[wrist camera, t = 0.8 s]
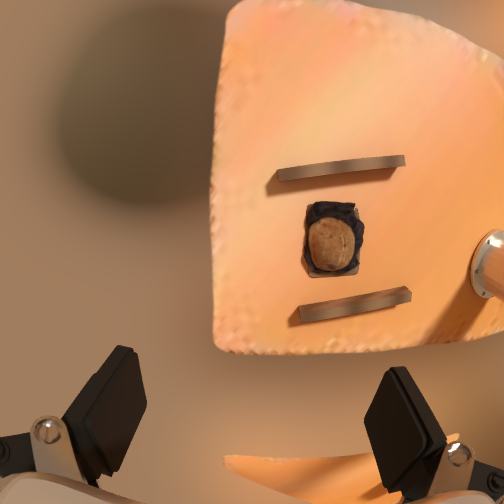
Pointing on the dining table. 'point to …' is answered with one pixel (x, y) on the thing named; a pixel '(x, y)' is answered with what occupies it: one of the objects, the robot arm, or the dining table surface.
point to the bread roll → (333, 239)
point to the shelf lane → (362, 301)
